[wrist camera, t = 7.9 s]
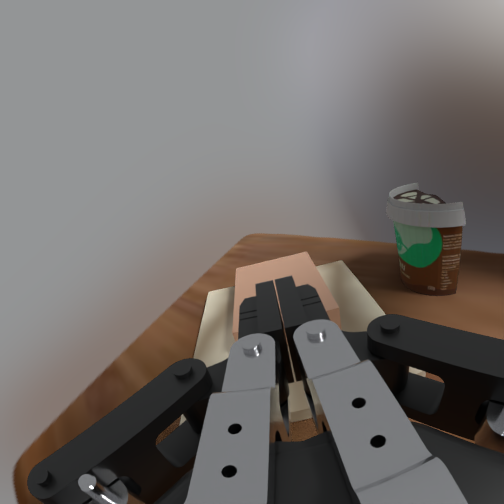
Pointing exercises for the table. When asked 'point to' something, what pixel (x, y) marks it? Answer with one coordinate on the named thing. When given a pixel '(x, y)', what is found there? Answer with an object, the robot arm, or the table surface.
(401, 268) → the food container
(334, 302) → the tile
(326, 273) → the board
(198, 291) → the table surface
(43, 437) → the table surface
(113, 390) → the table surface
